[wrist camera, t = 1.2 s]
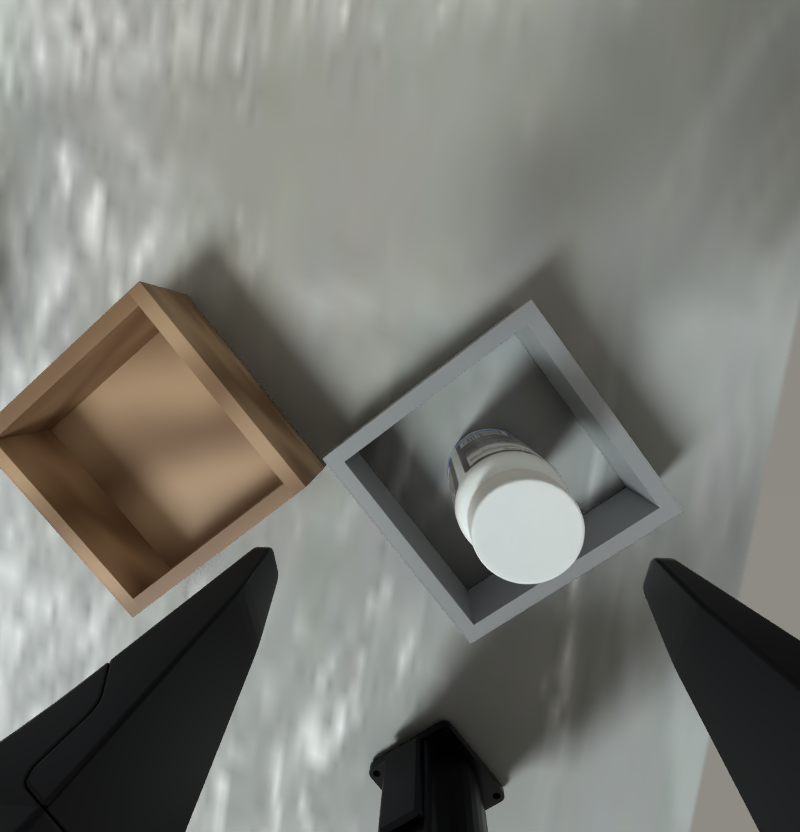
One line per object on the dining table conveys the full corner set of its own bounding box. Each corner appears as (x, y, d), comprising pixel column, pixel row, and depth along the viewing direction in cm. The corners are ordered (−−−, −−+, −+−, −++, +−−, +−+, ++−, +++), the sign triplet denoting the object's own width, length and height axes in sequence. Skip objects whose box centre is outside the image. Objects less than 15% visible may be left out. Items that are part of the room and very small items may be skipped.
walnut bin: (324, 467, 22) (305, 487, 19) (175, 580, 24) (132, 617, 20) (186, 294, 21) (139, 281, 18) (41, 425, 23) (-27, 437, 19)
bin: (647, 490, 21) (683, 511, 18) (464, 607, 23) (470, 643, 20) (515, 308, 20) (531, 299, 17) (336, 445, 22) (322, 458, 19)
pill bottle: (507, 519, 22) (557, 616, 13) (433, 486, 22) (438, 563, 13) (545, 447, 21) (623, 503, 13) (468, 413, 21) (496, 447, 13)
